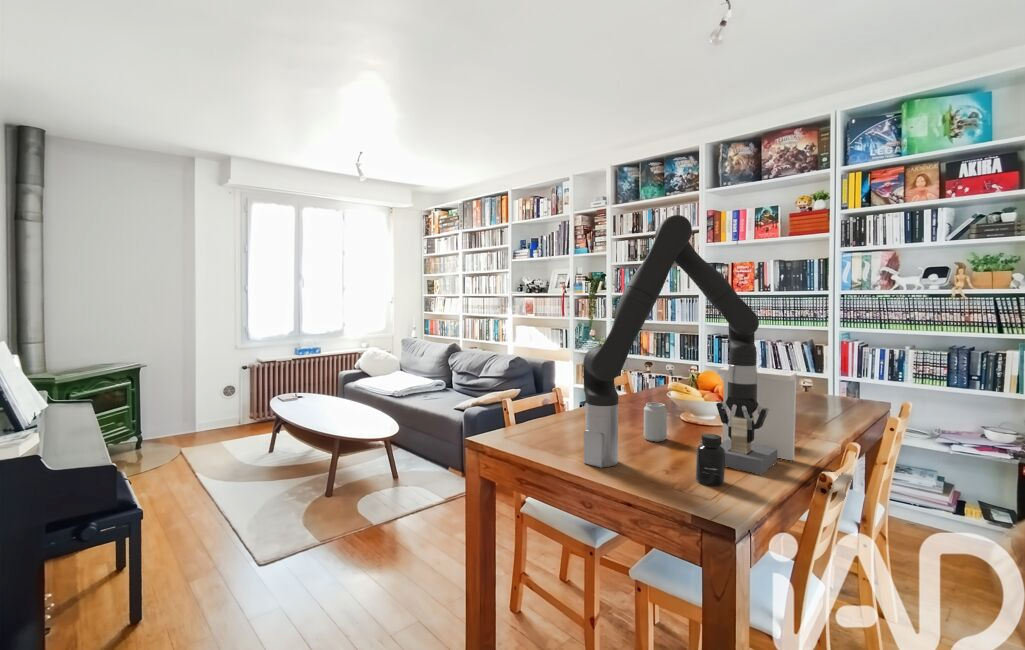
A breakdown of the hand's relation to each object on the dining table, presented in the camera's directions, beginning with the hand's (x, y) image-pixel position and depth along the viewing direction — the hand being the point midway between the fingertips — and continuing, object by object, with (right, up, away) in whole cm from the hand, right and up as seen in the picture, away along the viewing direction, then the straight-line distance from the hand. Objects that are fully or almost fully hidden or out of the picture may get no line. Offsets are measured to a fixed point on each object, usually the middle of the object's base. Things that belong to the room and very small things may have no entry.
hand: (741, 440), depth 141 cm
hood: (+8, -6, +8) cm, 13 cm away
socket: (+1, -7, +2) cm, 7 cm away
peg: (0, -3, 0) cm, 3 cm away
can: (-17, -6, +26) cm, 32 cm away
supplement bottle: (-14, -8, -13) cm, 20 cm away
